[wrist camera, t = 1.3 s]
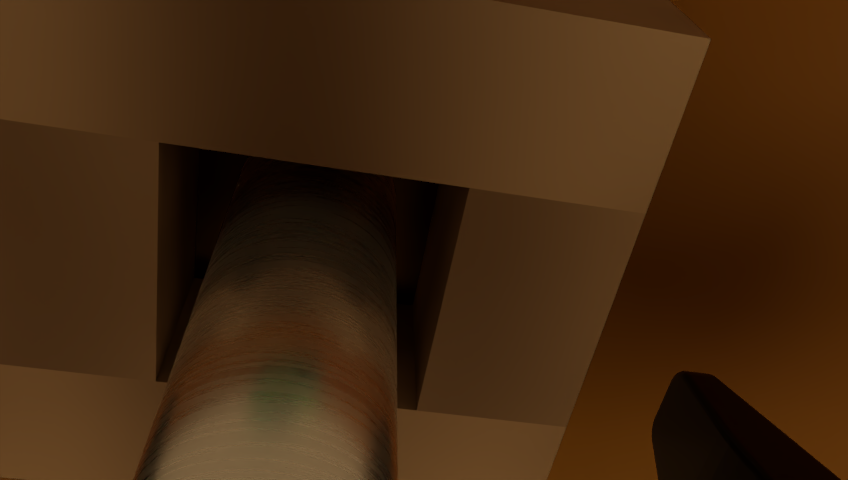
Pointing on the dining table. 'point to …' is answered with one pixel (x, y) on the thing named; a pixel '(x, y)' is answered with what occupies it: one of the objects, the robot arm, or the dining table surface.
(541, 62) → the socket block
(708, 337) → the dining table surface
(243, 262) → the red capped bottle
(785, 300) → the dining table surface
